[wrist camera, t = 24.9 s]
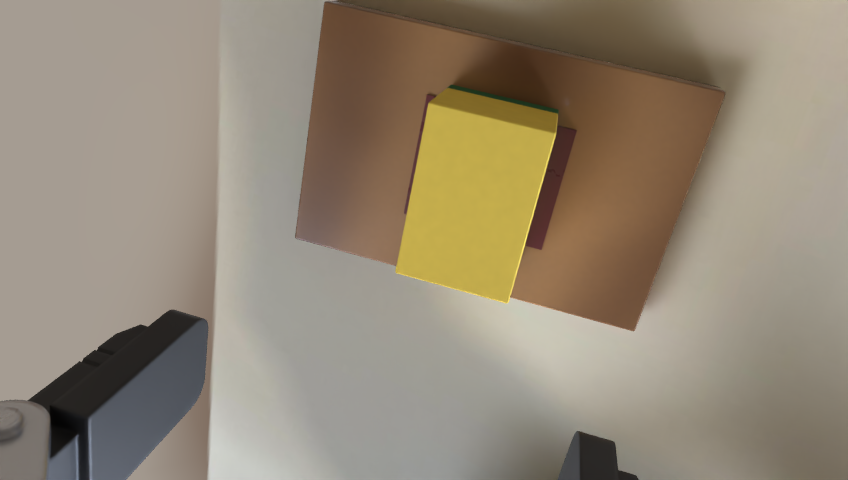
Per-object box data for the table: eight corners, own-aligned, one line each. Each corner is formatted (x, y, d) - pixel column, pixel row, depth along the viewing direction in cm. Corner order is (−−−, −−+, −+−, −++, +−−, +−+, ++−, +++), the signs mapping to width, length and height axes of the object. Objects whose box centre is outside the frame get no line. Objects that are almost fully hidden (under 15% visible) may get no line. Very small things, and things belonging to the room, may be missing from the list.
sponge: (450, 84, 29) (428, 101, 24) (559, 109, 28) (556, 132, 24) (419, 233, 32) (394, 273, 27) (517, 259, 31) (508, 304, 27)
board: (305, 229, 35) (293, 239, 34) (334, 0, 30) (322, 1, 29) (632, 318, 33) (634, 333, 31) (719, 86, 28) (727, 92, 27)
